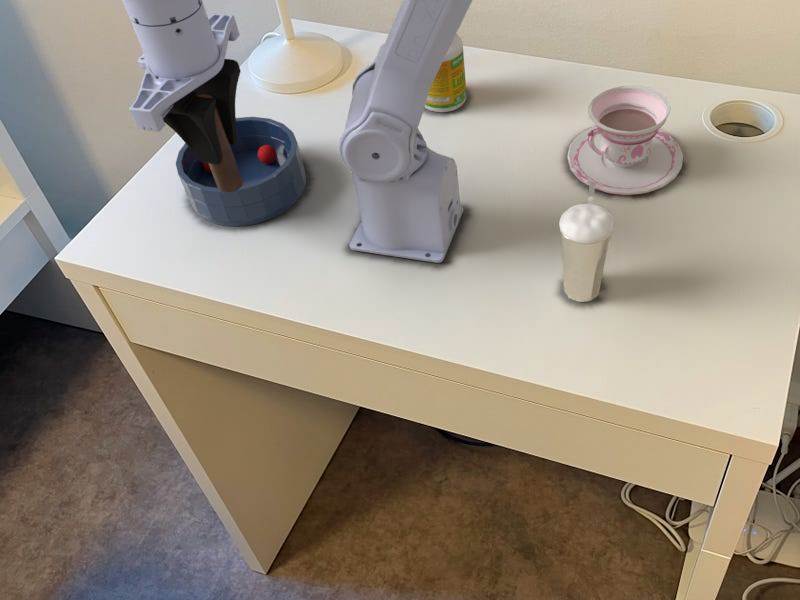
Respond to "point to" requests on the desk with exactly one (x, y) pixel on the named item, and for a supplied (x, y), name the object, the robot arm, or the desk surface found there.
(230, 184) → the stirring stick
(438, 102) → the supplement bottle
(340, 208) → the desk surface
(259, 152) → the berry
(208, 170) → the berry
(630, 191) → the teacup
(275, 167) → the bowl
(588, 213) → the milkshake
